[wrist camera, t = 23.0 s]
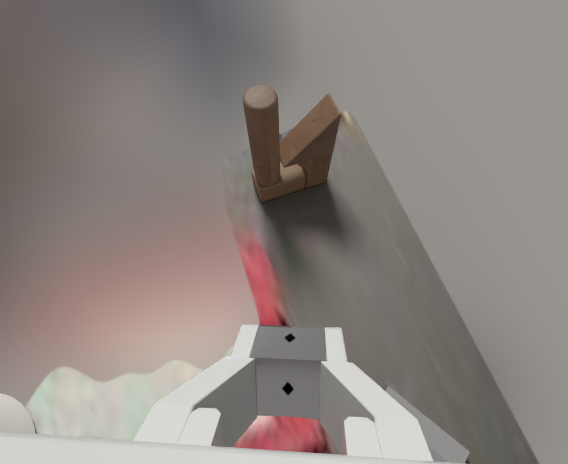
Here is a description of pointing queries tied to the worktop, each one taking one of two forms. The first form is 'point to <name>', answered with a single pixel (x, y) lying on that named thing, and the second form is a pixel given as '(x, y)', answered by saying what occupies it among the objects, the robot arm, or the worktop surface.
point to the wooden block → (288, 144)
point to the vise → (434, 435)
